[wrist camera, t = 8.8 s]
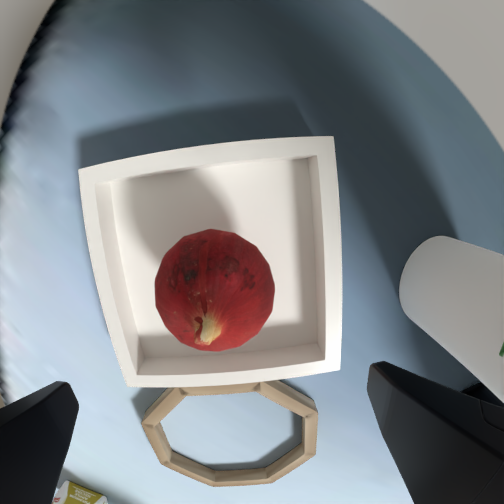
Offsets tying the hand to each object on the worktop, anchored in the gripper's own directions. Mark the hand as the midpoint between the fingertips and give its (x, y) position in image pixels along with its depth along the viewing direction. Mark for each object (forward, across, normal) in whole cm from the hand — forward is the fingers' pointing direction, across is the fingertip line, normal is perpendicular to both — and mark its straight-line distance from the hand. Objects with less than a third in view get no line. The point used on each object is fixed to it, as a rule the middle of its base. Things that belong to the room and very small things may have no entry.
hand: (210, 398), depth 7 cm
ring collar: (+12, +2, +14) cm, 19 cm away
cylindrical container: (+12, -16, +3) cm, 20 cm away
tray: (+12, 0, -1) cm, 12 cm away
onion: (+11, 0, -1) cm, 11 cm away
